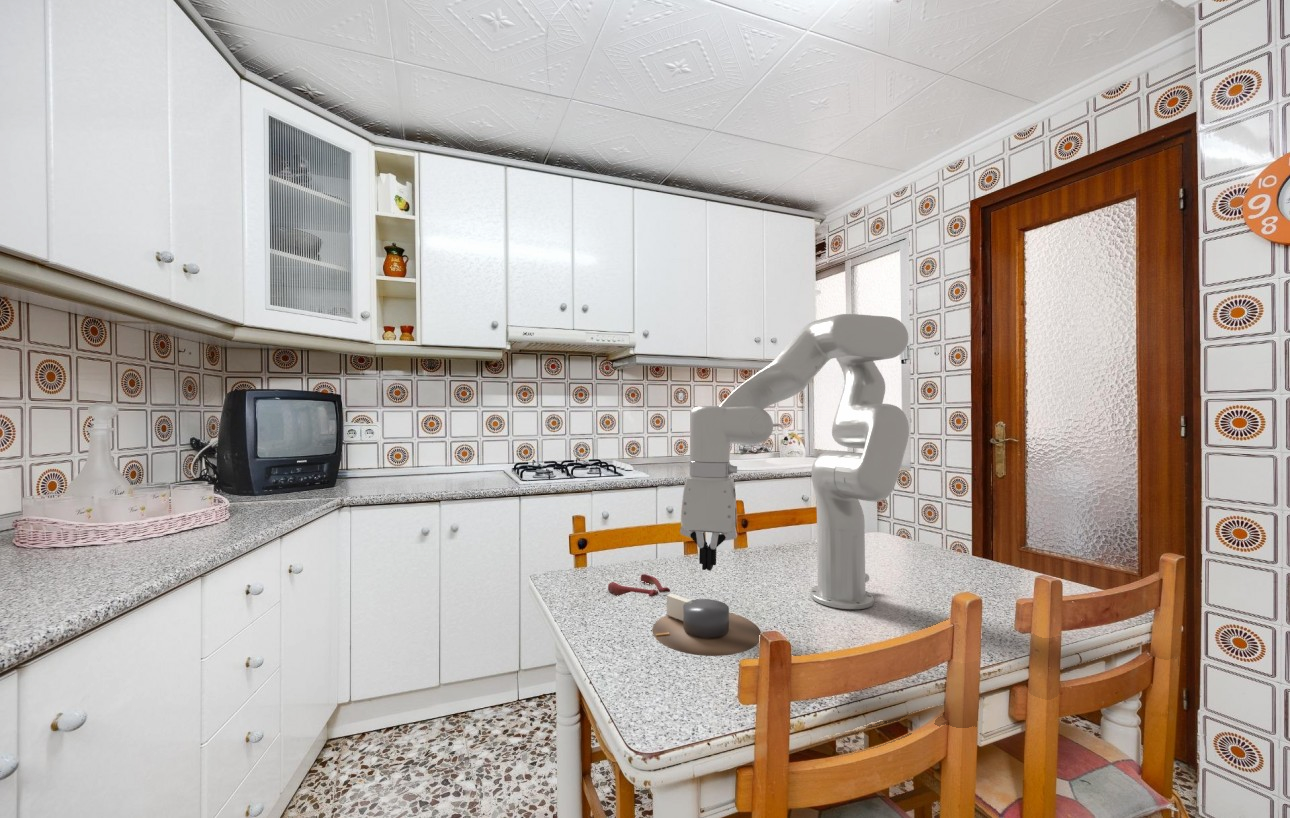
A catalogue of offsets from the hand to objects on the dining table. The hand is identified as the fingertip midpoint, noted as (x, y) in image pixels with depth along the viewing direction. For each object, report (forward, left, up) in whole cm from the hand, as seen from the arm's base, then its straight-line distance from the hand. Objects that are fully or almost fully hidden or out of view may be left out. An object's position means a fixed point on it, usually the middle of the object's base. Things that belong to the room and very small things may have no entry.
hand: (707, 568), depth 94 cm
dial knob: (+5, +1, -9) cm, 10 cm away
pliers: (-1, -19, -11) cm, 22 cm away
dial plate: (+5, +4, -11) cm, 12 cm away
